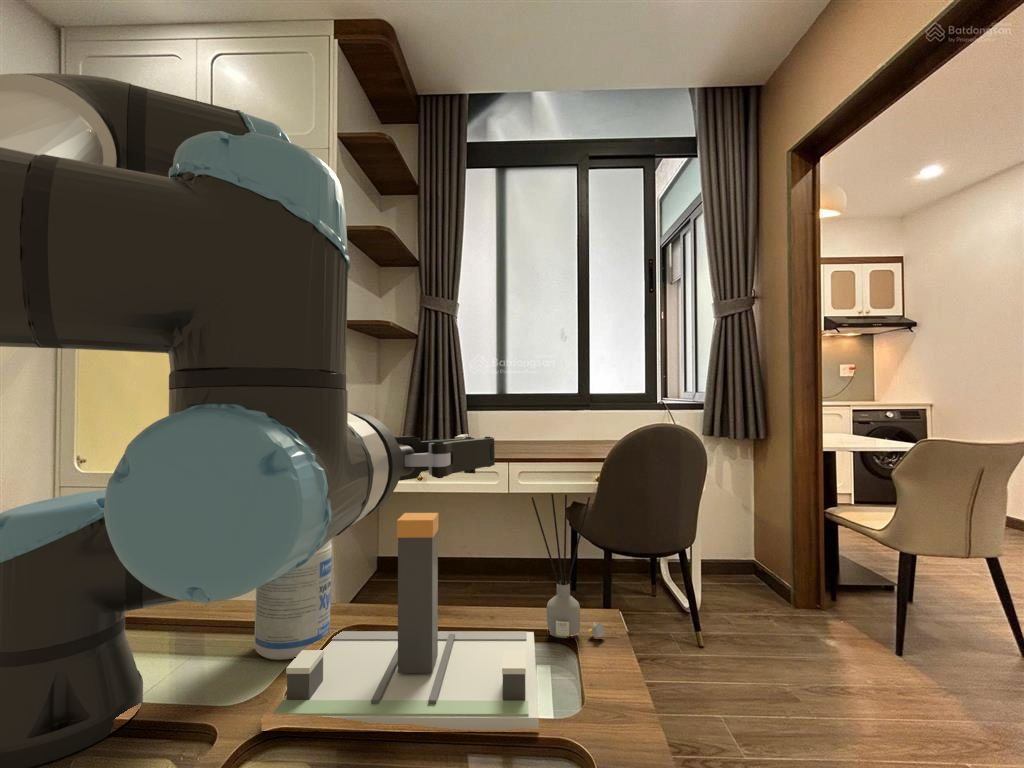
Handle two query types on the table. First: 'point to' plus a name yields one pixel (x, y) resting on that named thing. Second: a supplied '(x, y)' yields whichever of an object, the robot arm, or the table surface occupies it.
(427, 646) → the handle
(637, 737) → the table surface
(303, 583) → the supplement tub
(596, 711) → the table surface
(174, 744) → the table surface
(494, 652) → the panel
